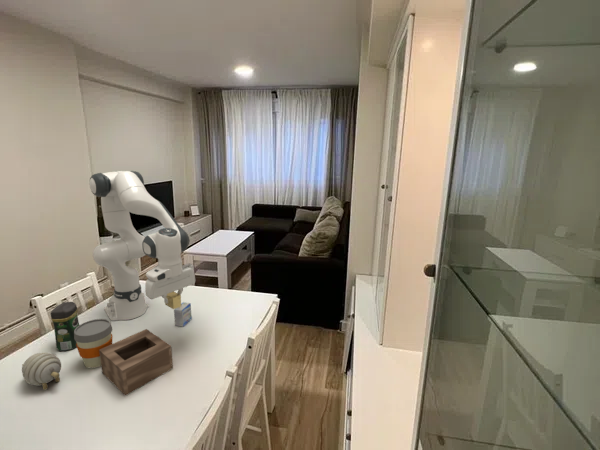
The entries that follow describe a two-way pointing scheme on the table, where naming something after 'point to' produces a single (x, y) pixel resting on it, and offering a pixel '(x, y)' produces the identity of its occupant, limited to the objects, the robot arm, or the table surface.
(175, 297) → the tan wooden block
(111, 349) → the box
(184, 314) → the medicine box
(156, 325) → the table surface
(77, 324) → the coffee jar
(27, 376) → the toy sheep
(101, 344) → the reusable coffee cup
